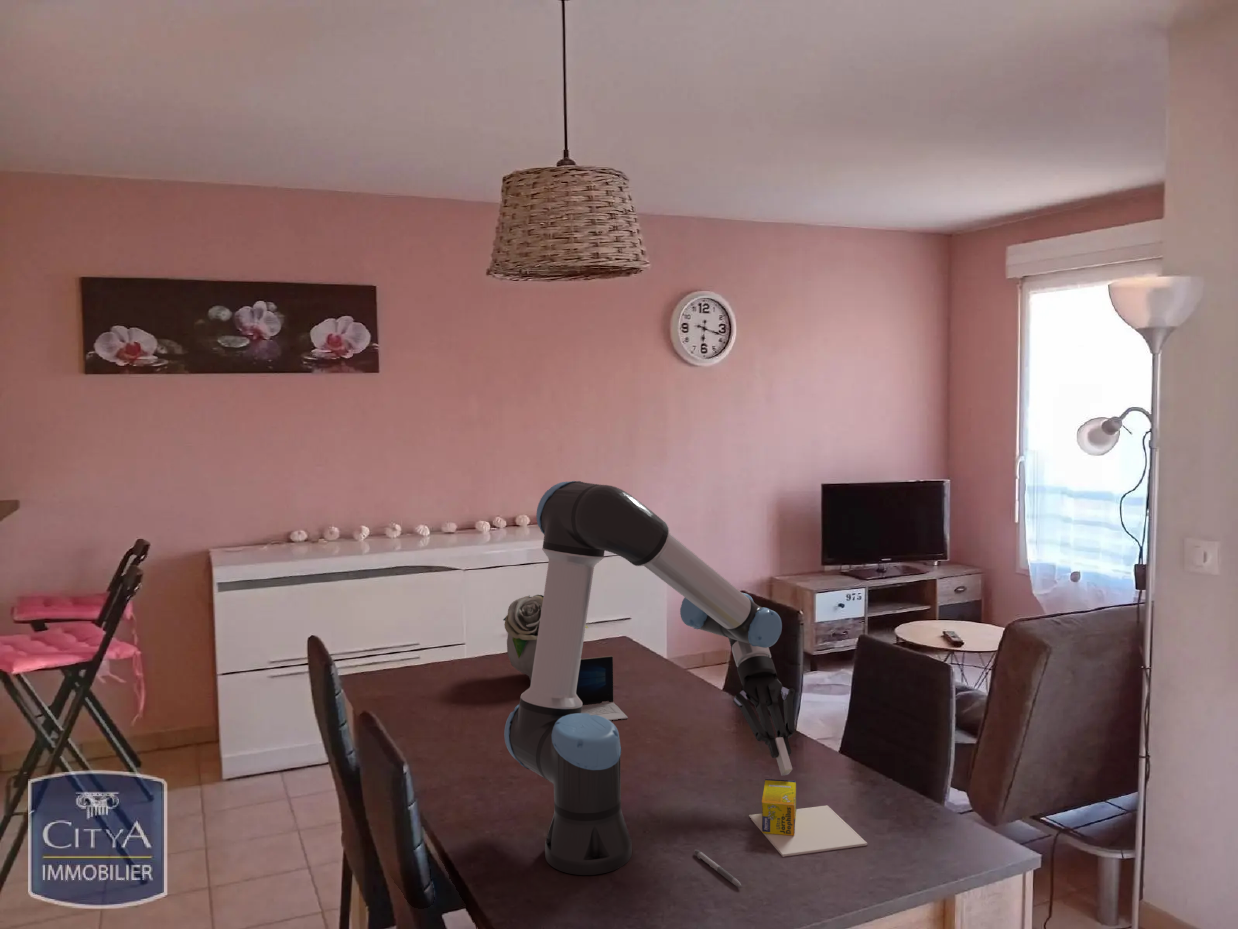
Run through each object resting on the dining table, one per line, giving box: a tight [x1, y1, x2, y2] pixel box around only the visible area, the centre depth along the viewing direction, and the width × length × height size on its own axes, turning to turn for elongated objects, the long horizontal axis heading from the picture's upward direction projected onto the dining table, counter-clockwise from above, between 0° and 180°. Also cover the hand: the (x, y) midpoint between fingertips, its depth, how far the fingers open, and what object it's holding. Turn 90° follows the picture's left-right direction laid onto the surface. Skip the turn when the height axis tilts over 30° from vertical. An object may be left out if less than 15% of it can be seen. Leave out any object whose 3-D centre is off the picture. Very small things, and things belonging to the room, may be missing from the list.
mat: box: [748, 805, 868, 858], centre depth 175 cm, size 16×16×1 cm
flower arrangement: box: [502, 594, 589, 681], centre depth 268 cm, size 25×25×24 cm
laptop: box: [576, 655, 629, 722], centre depth 239 cm, size 18×12×13 cm
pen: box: [694, 849, 742, 888], centre depth 160 cm, size 1×14×1 cm, turn 28°
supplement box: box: [760, 778, 797, 836], centre depth 177 cm, size 6×6×11 cm
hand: (786, 772), depth 183 cm, fingers closed
